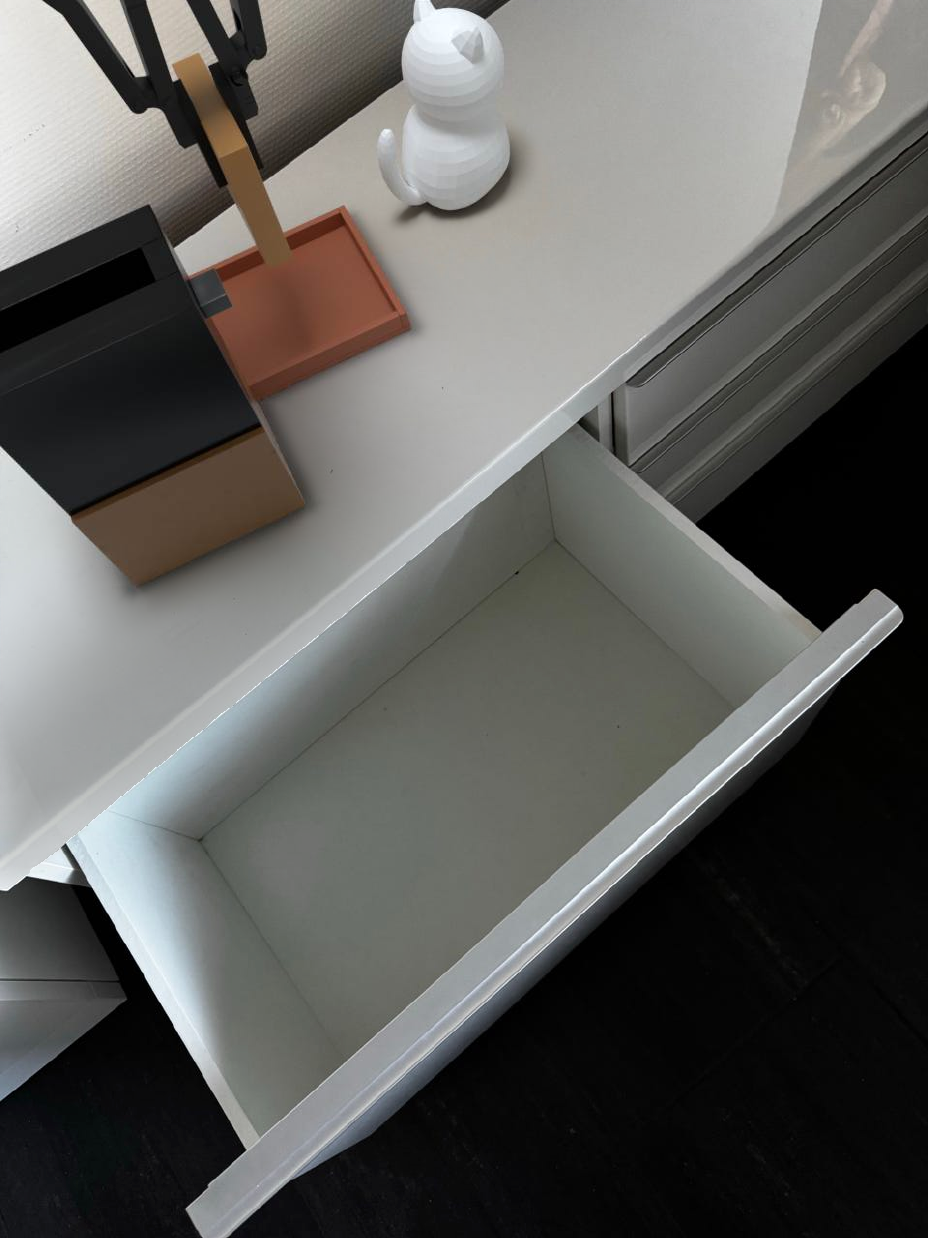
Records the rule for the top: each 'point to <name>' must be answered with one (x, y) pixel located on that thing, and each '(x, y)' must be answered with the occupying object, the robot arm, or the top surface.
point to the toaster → (134, 400)
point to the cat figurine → (448, 111)
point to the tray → (306, 304)
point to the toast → (234, 161)
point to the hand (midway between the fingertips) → (235, 165)
